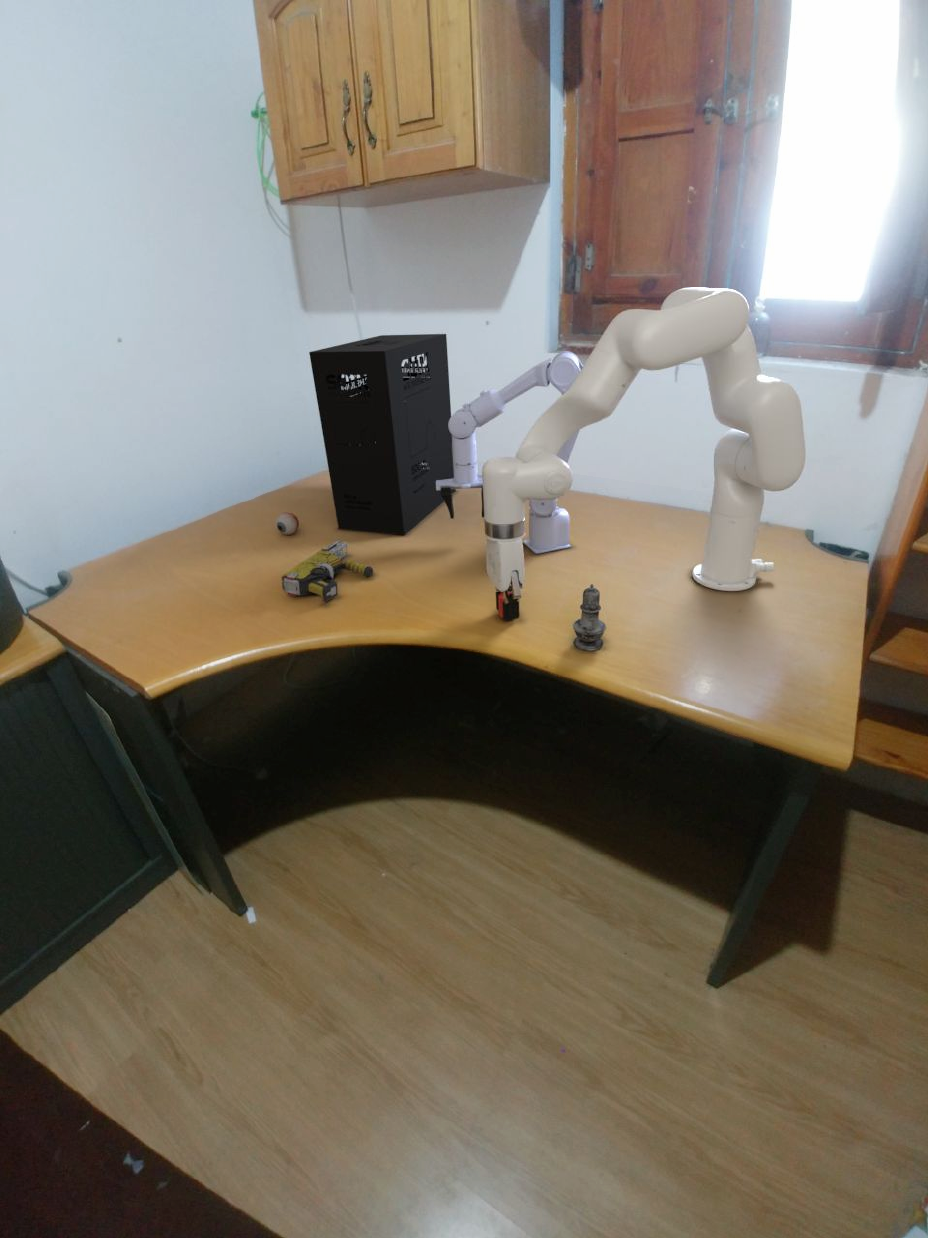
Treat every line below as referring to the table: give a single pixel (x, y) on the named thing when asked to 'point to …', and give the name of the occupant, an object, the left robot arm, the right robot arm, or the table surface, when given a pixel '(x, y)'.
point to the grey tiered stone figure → (589, 622)
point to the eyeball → (287, 523)
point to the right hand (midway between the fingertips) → (507, 612)
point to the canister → (500, 600)
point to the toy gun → (321, 572)
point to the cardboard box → (385, 429)
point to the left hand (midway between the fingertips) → (467, 516)
